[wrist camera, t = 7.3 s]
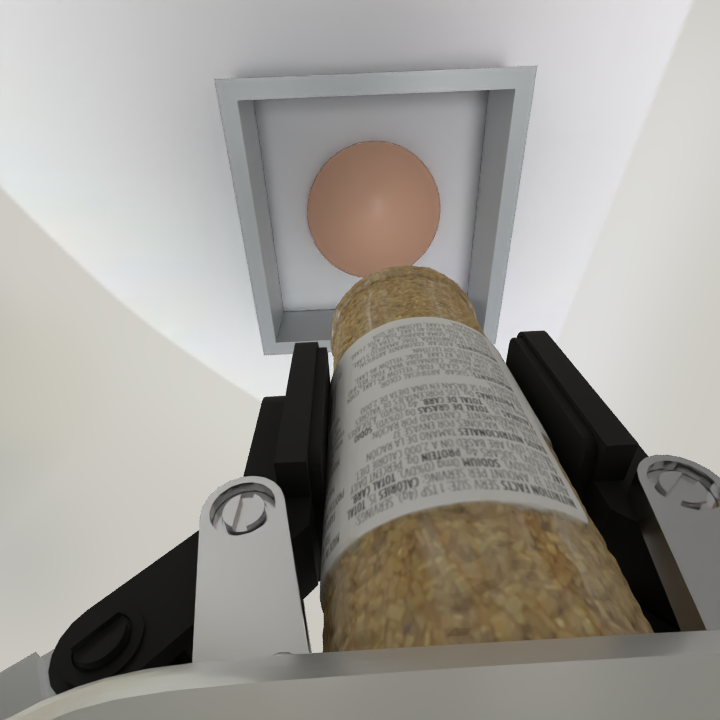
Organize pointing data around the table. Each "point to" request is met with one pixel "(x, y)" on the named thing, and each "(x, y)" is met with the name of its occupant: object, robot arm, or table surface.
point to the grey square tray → (377, 191)
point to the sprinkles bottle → (448, 488)
